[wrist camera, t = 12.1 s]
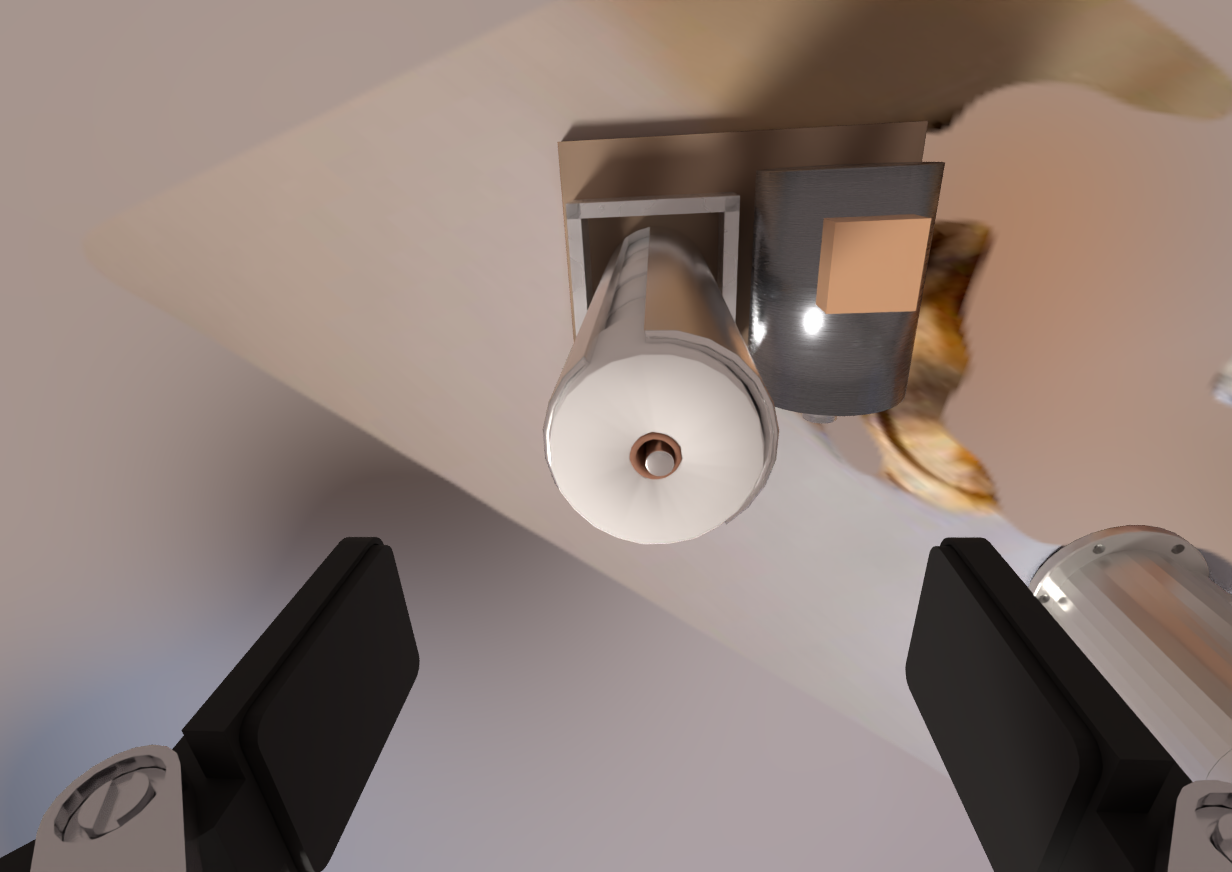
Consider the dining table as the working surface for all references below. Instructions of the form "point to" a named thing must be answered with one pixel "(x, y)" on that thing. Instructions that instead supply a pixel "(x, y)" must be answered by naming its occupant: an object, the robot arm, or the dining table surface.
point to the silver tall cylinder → (659, 400)
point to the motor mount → (778, 244)
